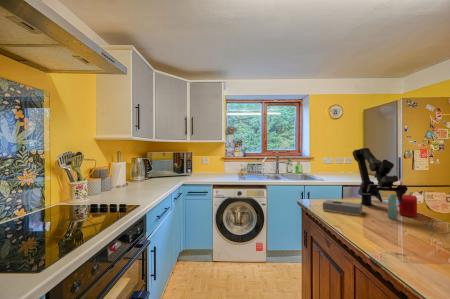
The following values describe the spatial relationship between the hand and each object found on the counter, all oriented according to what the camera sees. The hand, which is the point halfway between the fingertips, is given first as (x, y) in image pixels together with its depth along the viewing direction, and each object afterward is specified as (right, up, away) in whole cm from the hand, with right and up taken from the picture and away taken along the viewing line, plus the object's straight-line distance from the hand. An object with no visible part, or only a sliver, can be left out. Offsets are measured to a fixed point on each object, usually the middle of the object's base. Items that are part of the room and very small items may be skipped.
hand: (391, 202), depth 128 cm
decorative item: (+15, -9, +8) cm, 20 cm away
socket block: (-19, -9, +16) cm, 26 cm away
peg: (0, -9, -1) cm, 9 cm away
